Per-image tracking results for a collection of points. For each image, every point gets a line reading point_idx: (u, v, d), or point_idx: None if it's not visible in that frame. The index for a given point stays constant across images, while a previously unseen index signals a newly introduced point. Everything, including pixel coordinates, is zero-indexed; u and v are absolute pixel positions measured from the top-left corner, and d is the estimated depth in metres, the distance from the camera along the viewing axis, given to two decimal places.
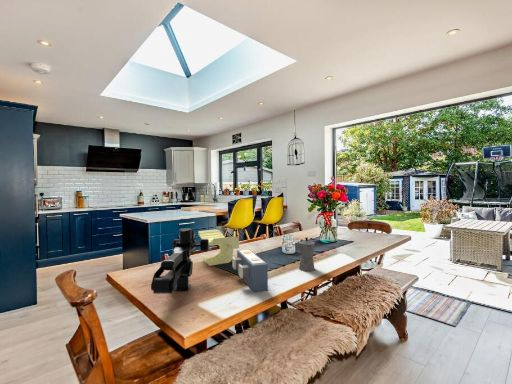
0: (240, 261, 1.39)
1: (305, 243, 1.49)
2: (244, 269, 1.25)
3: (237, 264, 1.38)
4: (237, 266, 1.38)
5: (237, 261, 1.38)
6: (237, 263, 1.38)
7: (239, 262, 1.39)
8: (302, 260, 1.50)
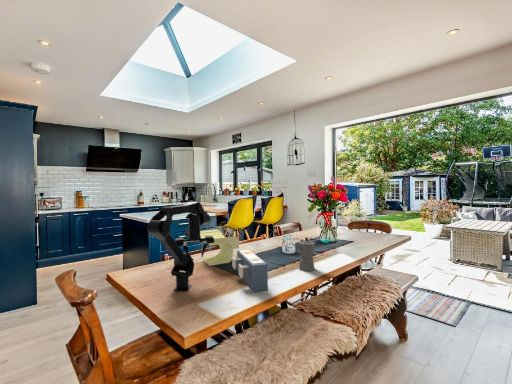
0: (240, 261, 1.39)
1: (305, 243, 1.49)
2: (244, 269, 1.25)
3: (237, 264, 1.38)
4: (237, 266, 1.38)
5: (237, 261, 1.38)
6: (237, 263, 1.38)
7: (239, 262, 1.39)
8: (302, 260, 1.50)
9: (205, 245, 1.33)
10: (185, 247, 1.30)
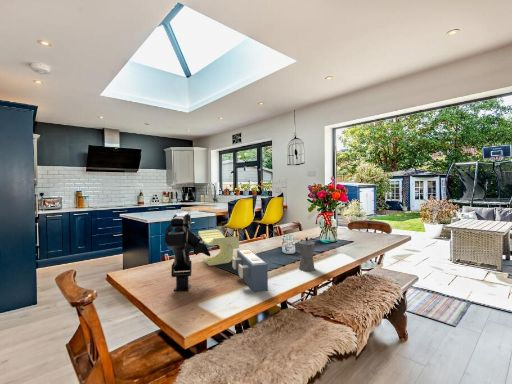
0: (240, 261, 1.39)
1: (305, 243, 1.49)
2: (244, 269, 1.25)
3: (237, 264, 1.38)
4: (237, 266, 1.38)
5: (237, 261, 1.38)
6: (237, 263, 1.38)
7: (239, 262, 1.39)
8: (302, 260, 1.50)
9: None
10: None
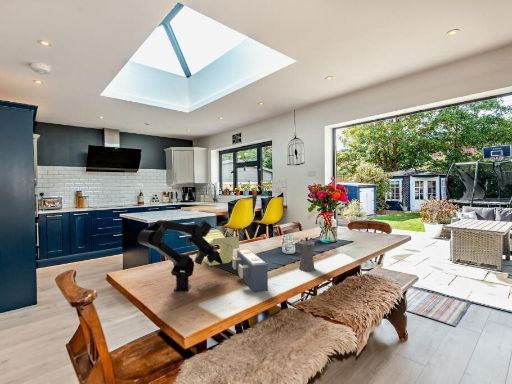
0: (240, 261, 1.39)
1: (305, 243, 1.49)
2: (244, 269, 1.25)
3: (237, 264, 1.38)
4: (237, 266, 1.38)
5: (237, 261, 1.38)
6: (237, 263, 1.38)
7: (239, 262, 1.39)
8: (302, 260, 1.50)
9: (216, 250, 1.40)
10: None
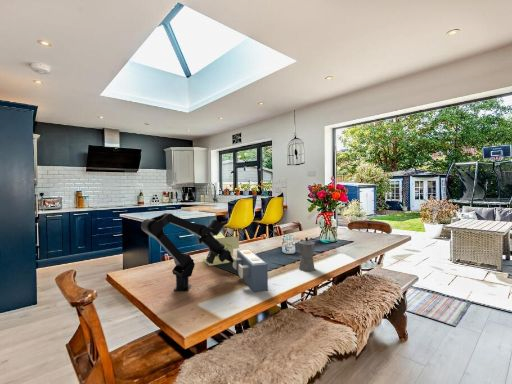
0: (241, 261, 1.39)
1: (305, 243, 1.49)
2: (244, 269, 1.25)
3: (238, 264, 1.38)
4: (238, 266, 1.39)
5: (238, 261, 1.38)
6: (238, 263, 1.38)
7: (240, 262, 1.39)
8: (302, 260, 1.50)
9: (227, 249, 1.41)
10: None
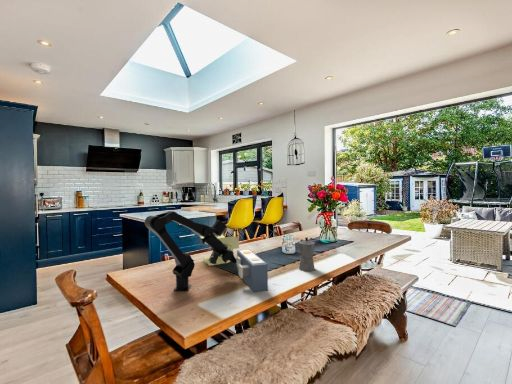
0: None
1: (305, 243, 1.49)
2: (244, 269, 1.25)
3: None
4: None
5: None
6: None
7: None
8: (302, 260, 1.50)
9: None
10: None
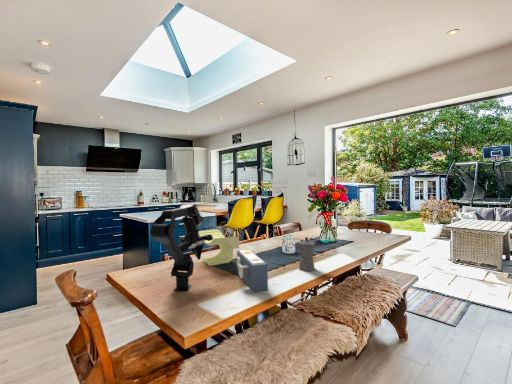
0: None
1: (305, 243, 1.49)
2: (244, 269, 1.25)
3: None
4: None
5: None
6: None
7: None
8: (302, 260, 1.50)
9: (201, 245, 1.33)
10: (196, 248, 1.31)
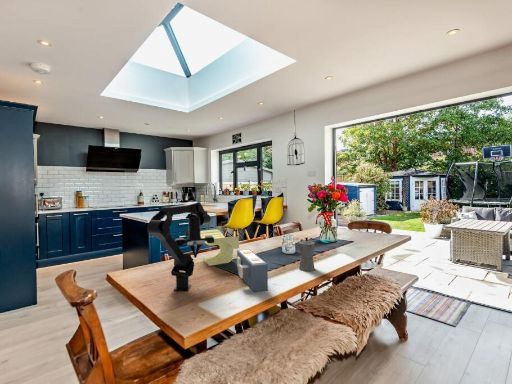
0: None
1: (305, 243, 1.49)
2: (244, 269, 1.25)
3: None
4: None
5: None
6: None
7: None
8: (302, 260, 1.50)
9: (199, 246, 1.32)
10: (192, 246, 1.31)
